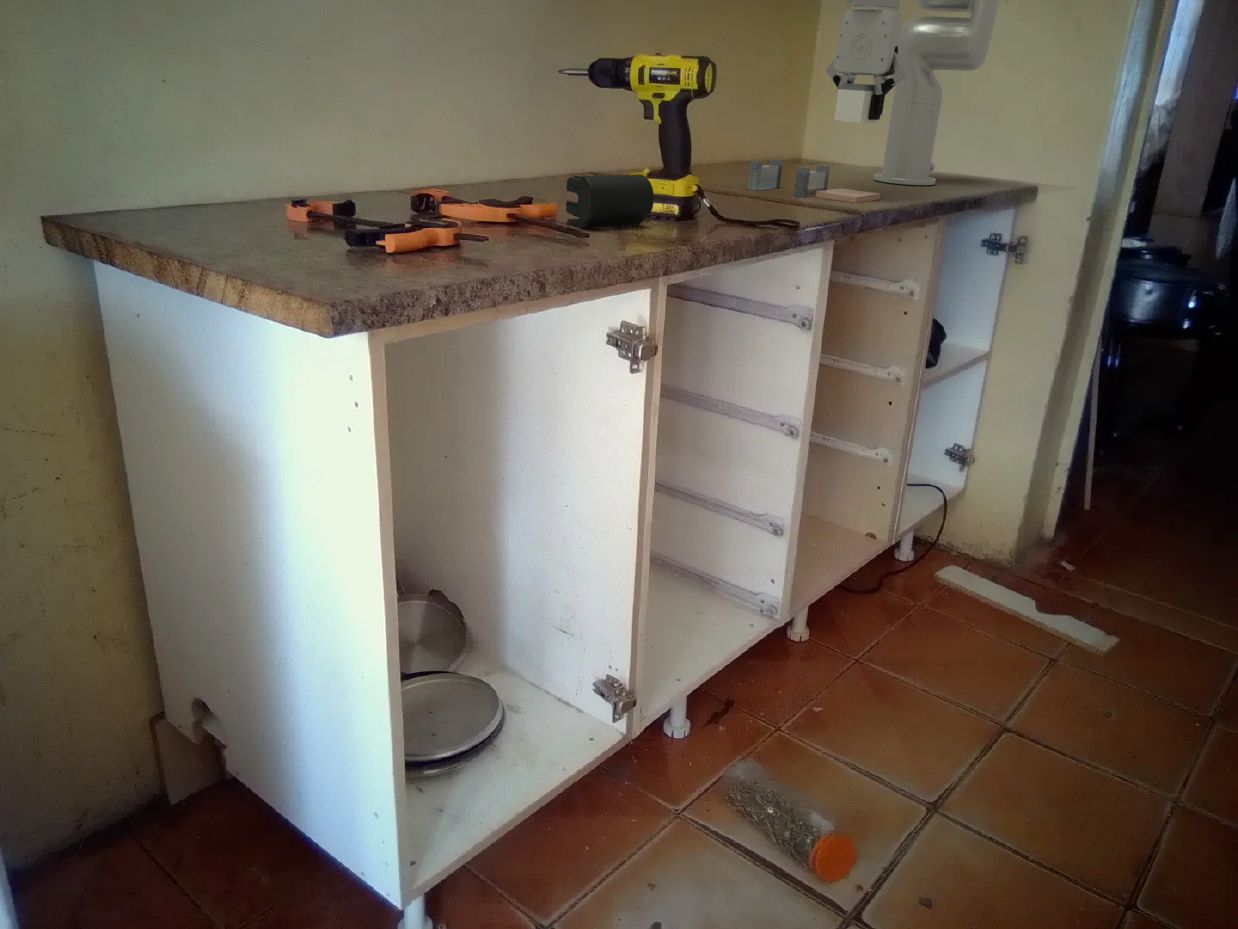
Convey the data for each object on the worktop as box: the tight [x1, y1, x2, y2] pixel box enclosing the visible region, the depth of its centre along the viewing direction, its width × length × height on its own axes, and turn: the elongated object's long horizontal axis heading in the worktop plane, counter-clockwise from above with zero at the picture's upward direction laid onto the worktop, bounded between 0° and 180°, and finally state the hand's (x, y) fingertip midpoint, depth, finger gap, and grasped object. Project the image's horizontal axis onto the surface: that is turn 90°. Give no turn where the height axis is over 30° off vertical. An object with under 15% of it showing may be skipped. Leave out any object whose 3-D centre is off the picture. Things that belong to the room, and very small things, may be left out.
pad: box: [815, 187, 882, 204], centre depth 169 cm, size 9×8×1 cm
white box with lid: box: [833, 83, 878, 124], centre depth 162 cm, size 6×5×6 cm
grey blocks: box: [746, 158, 831, 198], centre depth 173 cm, size 8×12×5 cm, turn 49°
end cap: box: [565, 173, 655, 229], centre depth 127 cm, size 10×7×7 cm
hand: (859, 117), depth 164 cm, fingers closed on white box with lid, 5 cm apart
